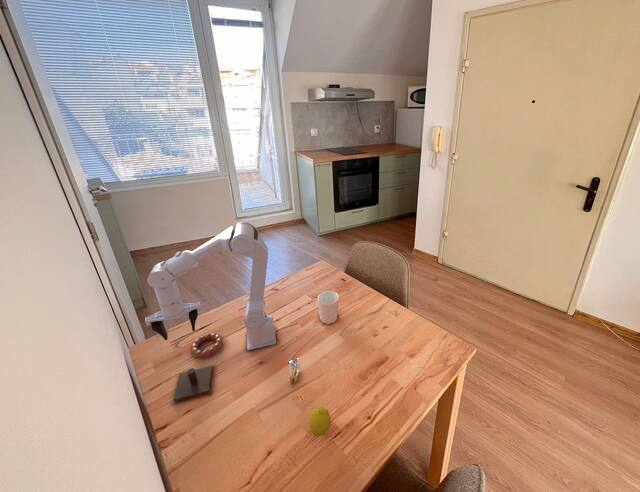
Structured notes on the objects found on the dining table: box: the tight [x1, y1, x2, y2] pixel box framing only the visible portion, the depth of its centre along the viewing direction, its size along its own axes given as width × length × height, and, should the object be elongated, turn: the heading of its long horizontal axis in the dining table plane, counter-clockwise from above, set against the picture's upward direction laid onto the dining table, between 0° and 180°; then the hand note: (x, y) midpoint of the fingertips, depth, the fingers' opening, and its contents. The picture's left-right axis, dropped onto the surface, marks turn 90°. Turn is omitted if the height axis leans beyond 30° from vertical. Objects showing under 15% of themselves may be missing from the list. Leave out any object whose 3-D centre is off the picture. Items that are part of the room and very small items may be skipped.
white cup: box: [317, 290, 339, 325], centre depth 113 cm, size 8×8×10 cm
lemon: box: [308, 406, 332, 437], centre depth 75 cm, size 6×6×8 cm
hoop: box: [190, 332, 223, 359], centre depth 100 cm, size 10×10×2 cm
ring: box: [288, 357, 301, 386], centre depth 89 cm, size 7×3×8 cm, turn 174°
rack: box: [173, 365, 213, 403], centre depth 87 cm, size 9×9×6 cm
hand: (180, 333), depth 94 cm, fingers open, 7 cm apart
